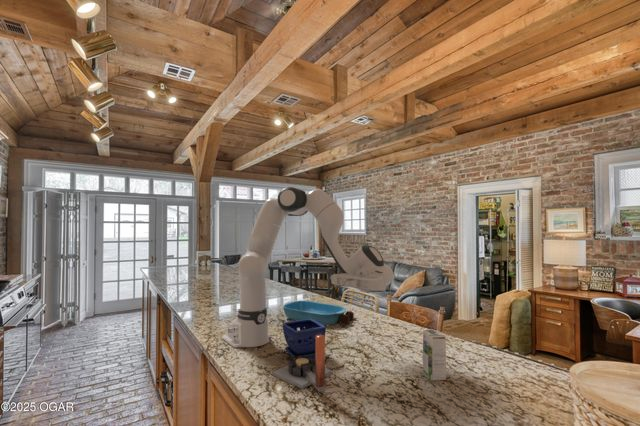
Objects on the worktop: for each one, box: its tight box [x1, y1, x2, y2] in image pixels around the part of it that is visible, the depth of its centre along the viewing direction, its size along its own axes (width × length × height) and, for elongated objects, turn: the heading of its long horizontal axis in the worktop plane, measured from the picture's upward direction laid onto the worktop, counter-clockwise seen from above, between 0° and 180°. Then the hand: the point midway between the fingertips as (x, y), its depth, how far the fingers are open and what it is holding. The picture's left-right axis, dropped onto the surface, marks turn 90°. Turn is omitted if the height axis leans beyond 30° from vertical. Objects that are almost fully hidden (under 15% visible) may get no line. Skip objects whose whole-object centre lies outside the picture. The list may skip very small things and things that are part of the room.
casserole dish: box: [282, 300, 347, 327], centre depth 173 cm, size 37×22×7 cm, turn 58°
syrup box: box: [422, 329, 447, 381], centre depth 105 cm, size 6×6×14 cm
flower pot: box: [282, 319, 327, 359], centre depth 123 cm, size 13×13×12 cm
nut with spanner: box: [287, 335, 326, 393], centre depth 101 cm, size 21×9×16 cm, turn 24°
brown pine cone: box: [338, 310, 355, 326], centre depth 170 cm, size 6×5×15 cm
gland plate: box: [272, 358, 332, 390], centre depth 106 cm, size 14×14×4 cm
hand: (344, 284), depth 109 cm, fingers closed
